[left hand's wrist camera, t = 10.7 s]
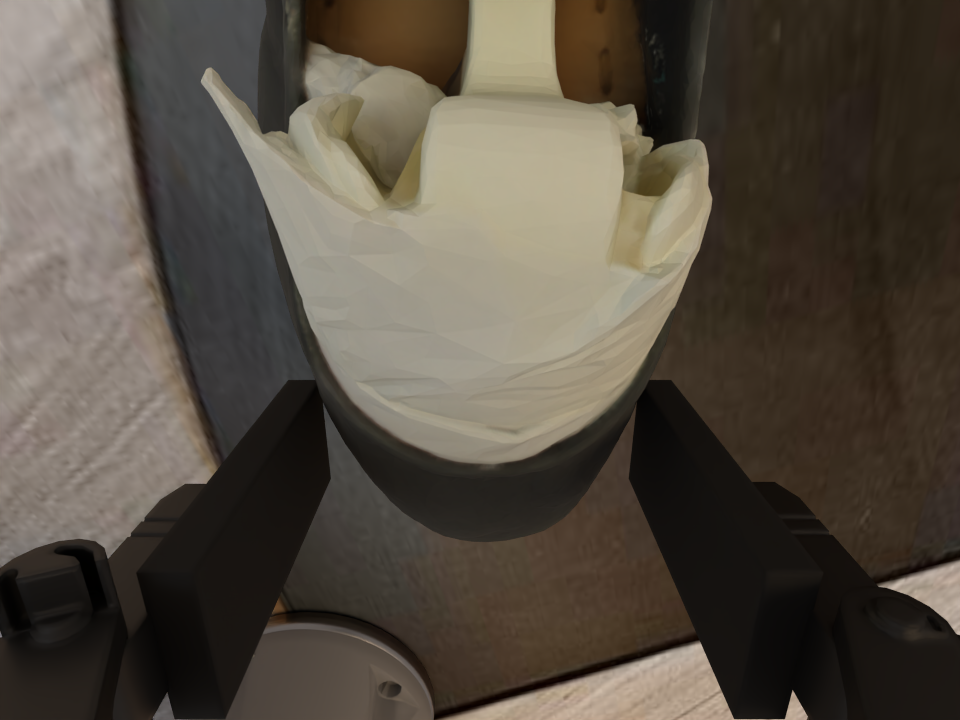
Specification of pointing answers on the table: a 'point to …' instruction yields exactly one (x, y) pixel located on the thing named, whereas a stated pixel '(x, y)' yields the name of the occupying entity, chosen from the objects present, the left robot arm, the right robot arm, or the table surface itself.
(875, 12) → the table surface
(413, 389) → the ballet flat
